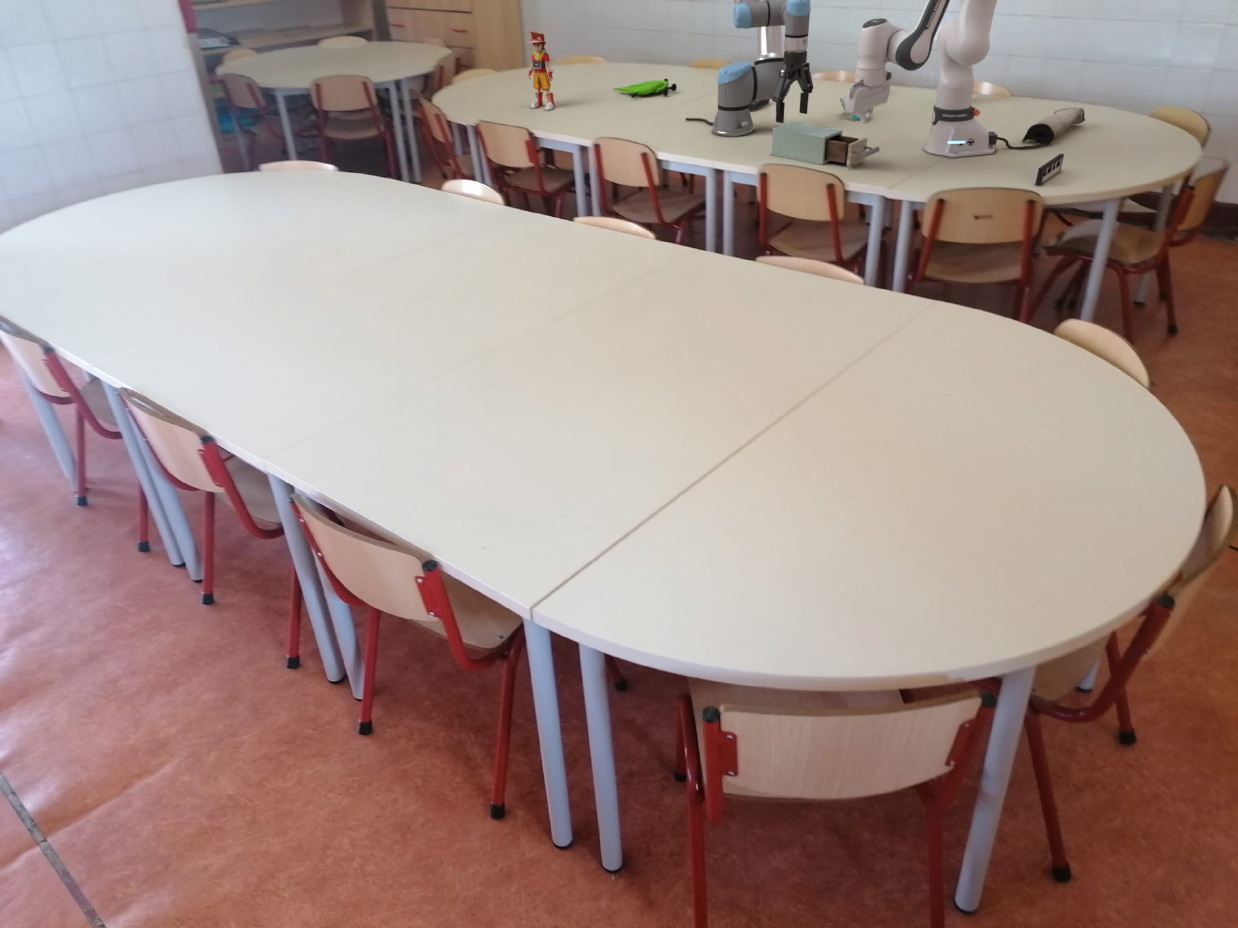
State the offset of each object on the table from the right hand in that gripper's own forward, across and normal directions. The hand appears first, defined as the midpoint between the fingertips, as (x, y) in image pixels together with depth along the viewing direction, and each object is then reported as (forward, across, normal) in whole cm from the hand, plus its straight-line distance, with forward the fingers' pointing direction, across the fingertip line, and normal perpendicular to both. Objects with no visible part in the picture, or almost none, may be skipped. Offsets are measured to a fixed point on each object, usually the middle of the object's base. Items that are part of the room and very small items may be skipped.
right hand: (864, 123), depth 286 cm
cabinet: (+14, 0, +22) cm, 25 cm away
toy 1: (+14, -4, +153) cm, 154 cm away
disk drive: (+14, +45, +79) cm, 92 cm away
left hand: (+2, 0, +28) cm, 28 cm away
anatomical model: (+14, +53, +36) cm, 66 cm away
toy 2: (+14, +39, +136) cm, 142 cm away
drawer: (+13, 0, +8) cm, 15 cm away
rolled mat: (+14, +69, -34) cm, 78 cm away
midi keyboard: (+14, +22, -52) cm, 58 cm away
